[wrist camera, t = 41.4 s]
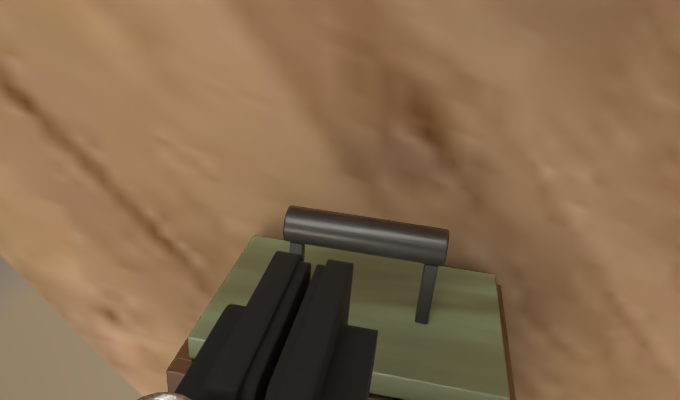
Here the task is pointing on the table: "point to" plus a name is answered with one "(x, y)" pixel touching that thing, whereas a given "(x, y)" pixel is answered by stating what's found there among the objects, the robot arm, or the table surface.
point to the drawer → (391, 303)
